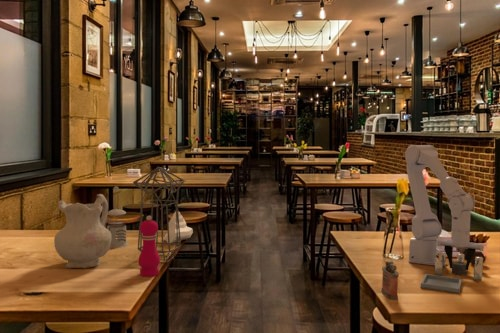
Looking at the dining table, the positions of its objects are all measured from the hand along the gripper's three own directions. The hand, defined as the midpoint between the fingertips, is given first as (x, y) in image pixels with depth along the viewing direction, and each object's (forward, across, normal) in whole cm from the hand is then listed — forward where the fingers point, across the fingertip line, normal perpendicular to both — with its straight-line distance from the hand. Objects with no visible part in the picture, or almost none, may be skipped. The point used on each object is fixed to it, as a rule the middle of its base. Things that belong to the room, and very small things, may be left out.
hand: (459, 268), depth 160 cm
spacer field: (+2, 0, 0) cm, 2 cm away
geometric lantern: (+2, -100, -37) cm, 107 cm away
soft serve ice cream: (+2, -113, -9) cm, 114 cm away
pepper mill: (+2, -92, -53) cm, 106 cm away
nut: (+2, 0, 0) cm, 2 cm away
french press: (+2, -131, -29) cm, 134 cm away
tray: (+2, -4, -17) cm, 18 cm away
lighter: (+2, -17, -34) cm, 38 cm away
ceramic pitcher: (+2, -121, -54) cm, 133 cm away
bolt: (+2, +3, +21) cm, 21 cm away
